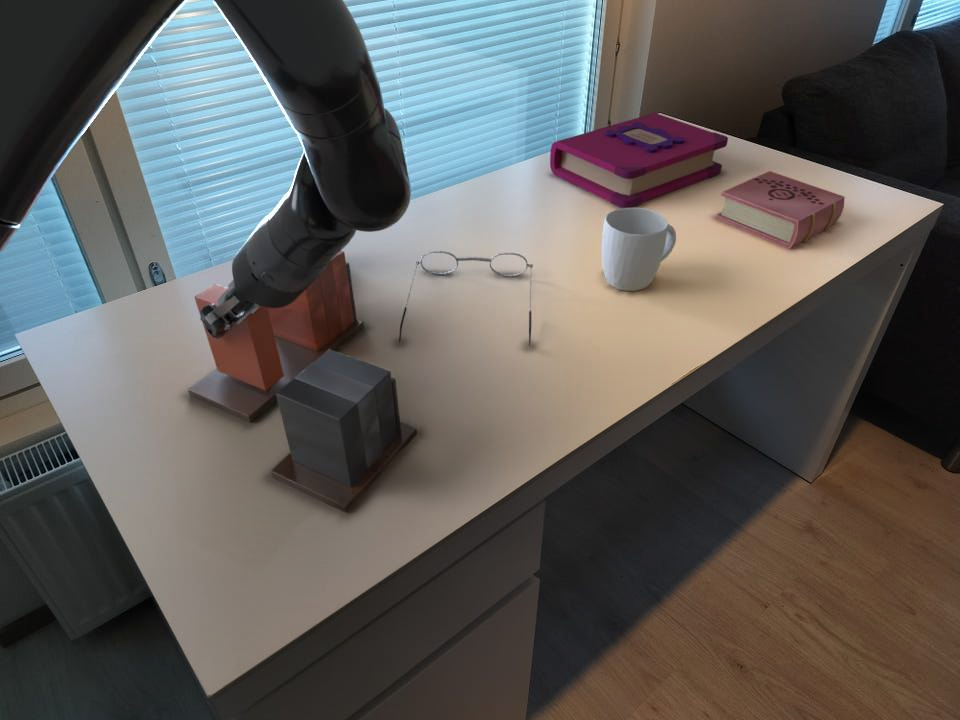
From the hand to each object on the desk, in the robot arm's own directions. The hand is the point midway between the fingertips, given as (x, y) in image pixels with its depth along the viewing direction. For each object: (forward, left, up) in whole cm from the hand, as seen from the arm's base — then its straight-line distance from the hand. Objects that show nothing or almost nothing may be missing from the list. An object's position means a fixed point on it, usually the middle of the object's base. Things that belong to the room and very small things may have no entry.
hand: (225, 323), depth 81 cm
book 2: (+89, -26, -9) cm, 93 cm away
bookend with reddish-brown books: (+6, 0, -8) cm, 10 cm away
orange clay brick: (+1, -2, -7) cm, 7 cm away
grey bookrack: (+2, -21, -8) cm, 22 cm away
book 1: (+89, +4, -9) cm, 89 cm away
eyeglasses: (+32, -8, -9) cm, 34 cm away
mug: (+56, -20, -9) cm, 60 cm away
